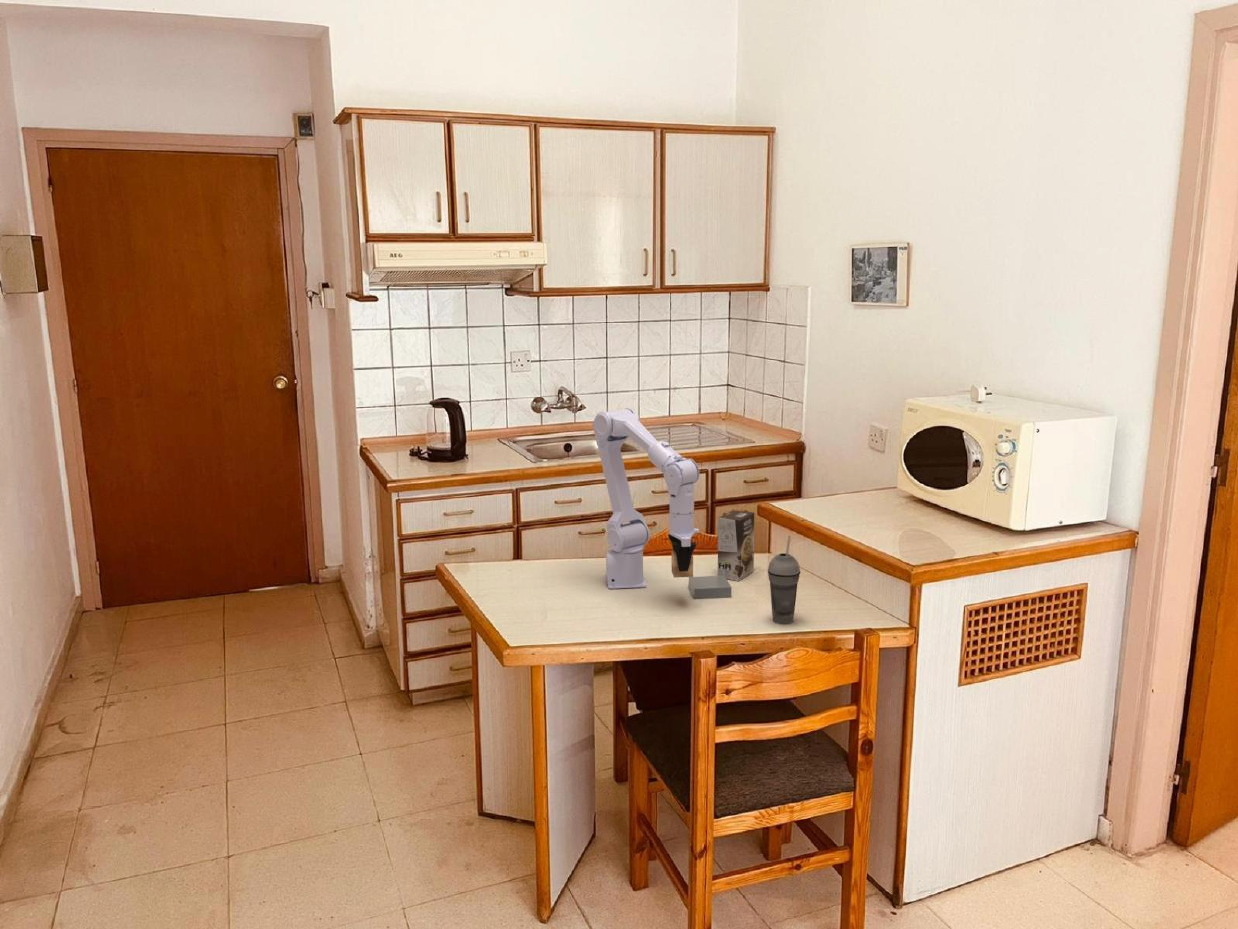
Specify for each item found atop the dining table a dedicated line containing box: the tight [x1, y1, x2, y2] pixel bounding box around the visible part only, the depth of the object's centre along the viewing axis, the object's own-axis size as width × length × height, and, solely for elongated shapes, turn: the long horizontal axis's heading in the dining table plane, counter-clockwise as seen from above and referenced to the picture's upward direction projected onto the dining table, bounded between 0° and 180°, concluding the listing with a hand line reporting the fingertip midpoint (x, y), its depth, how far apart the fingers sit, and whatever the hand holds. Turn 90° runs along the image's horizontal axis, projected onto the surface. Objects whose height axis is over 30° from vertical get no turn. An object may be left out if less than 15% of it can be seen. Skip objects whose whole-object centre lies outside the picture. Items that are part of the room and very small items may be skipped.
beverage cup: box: [767, 535, 801, 625], centre depth 216 cm, size 7×7×20 cm
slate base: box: [688, 575, 732, 600], centre depth 238 cm, size 9×9×2 cm
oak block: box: [671, 550, 694, 579], centre depth 228 cm, size 4×4×5 cm
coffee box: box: [717, 509, 755, 582], centre depth 248 cm, size 9×6×16 cm
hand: (682, 567), depth 229 cm, fingers closed on oak block, 4 cm apart
